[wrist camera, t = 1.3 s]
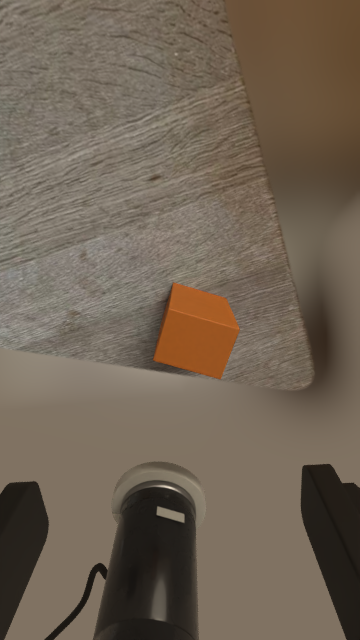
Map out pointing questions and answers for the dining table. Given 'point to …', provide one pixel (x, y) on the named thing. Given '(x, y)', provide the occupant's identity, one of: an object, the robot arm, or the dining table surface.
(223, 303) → the block
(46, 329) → the dining table surface
